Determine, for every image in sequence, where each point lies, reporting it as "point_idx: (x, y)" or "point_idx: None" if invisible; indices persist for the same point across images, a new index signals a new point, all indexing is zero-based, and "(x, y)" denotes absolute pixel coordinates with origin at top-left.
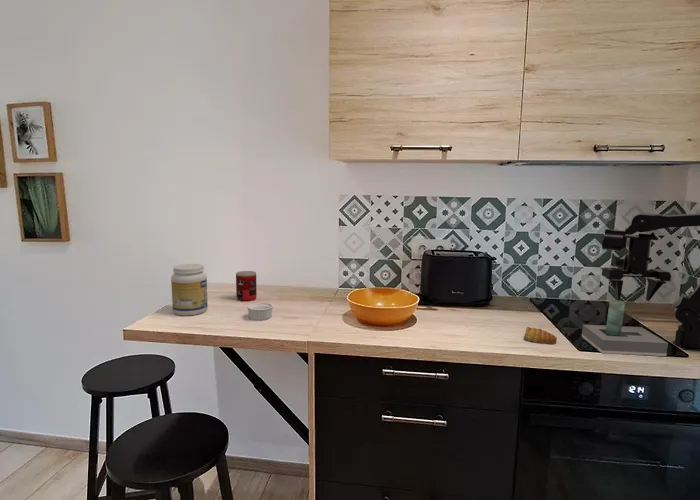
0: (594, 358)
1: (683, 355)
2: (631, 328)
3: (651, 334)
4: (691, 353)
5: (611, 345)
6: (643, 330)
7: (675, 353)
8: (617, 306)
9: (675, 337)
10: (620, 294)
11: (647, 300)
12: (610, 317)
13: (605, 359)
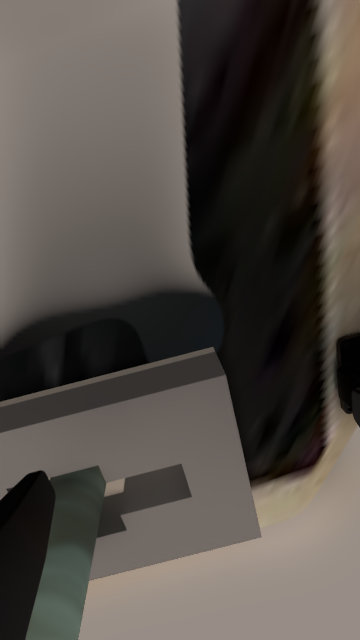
0: None
1: (306, 461)
2: (167, 417)
3: (235, 466)
4: (344, 433)
5: None
6: (218, 425)
7: (288, 453)
8: None
9: (350, 380)
10: (31, 597)
11: (355, 413)
12: None
13: None
